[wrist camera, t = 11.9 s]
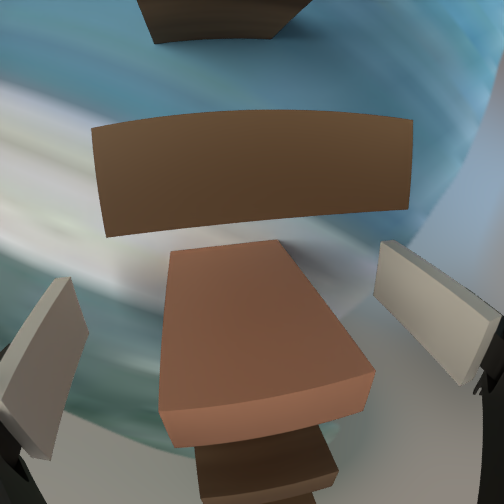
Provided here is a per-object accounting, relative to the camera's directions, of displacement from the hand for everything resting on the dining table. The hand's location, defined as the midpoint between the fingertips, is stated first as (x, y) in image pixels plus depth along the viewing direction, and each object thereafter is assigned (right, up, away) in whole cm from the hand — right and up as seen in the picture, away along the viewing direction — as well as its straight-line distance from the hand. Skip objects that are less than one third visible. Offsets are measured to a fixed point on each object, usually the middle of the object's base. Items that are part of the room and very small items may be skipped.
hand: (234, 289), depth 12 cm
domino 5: (0, -4, +5) cm, 6 cm away
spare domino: (-1, +1, +3) cm, 3 cm away
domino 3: (-1, +6, 0) cm, 6 cm away
